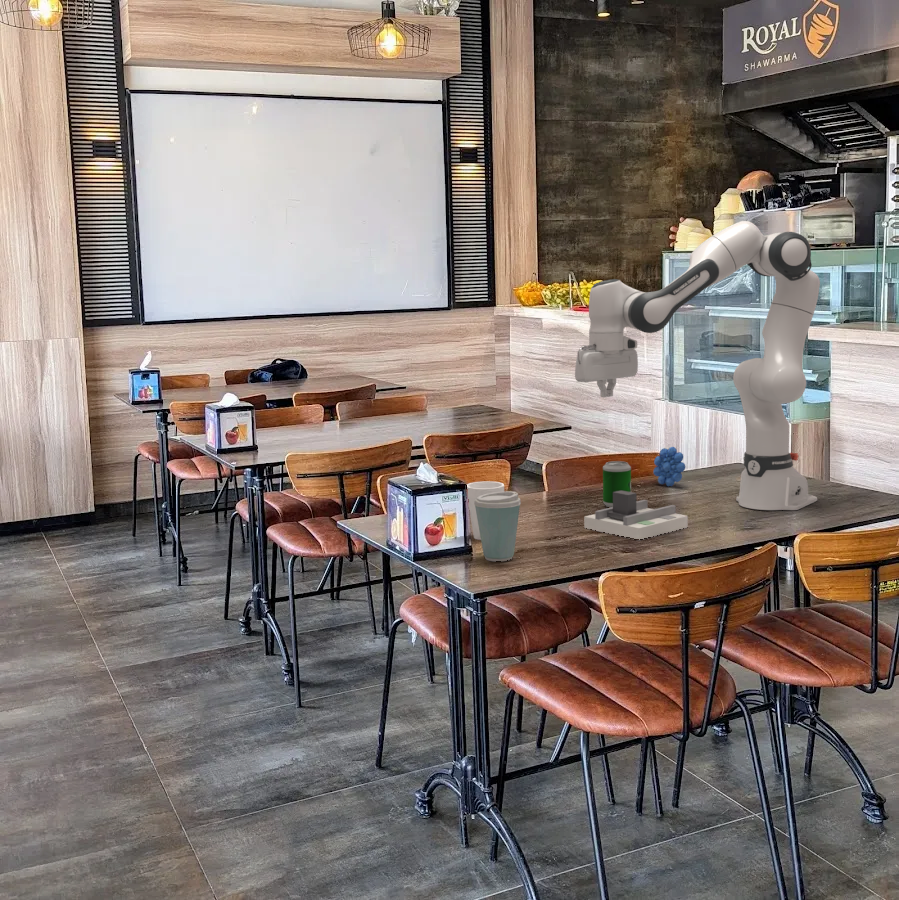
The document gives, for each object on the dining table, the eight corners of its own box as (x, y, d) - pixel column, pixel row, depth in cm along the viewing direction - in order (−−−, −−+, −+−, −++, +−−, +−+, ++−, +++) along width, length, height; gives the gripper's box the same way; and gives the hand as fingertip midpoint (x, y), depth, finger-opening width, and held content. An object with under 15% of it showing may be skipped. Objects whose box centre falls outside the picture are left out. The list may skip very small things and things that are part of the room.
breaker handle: (621, 513, 278) (620, 489, 277) (642, 517, 273) (642, 493, 272) (607, 516, 275) (607, 492, 274) (628, 521, 269) (628, 496, 268)
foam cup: (467, 532, 277) (466, 481, 275) (504, 531, 277) (503, 480, 275) (467, 542, 268) (465, 489, 266) (505, 541, 268) (504, 488, 265)
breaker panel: (632, 516, 289) (632, 497, 288) (687, 527, 275) (687, 507, 275) (584, 528, 278) (584, 508, 277) (639, 540, 264) (639, 520, 263)
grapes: (694, 487, 323) (694, 446, 321) (679, 490, 319) (679, 449, 317) (663, 481, 333) (664, 442, 331) (648, 485, 328) (648, 445, 326)
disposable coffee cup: (476, 565, 247) (474, 499, 245) (474, 552, 258) (473, 489, 255) (523, 563, 247) (522, 497, 245) (520, 551, 258) (519, 488, 255)
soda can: (630, 509, 297) (630, 465, 295) (602, 509, 299) (601, 465, 297) (631, 503, 304) (631, 460, 302) (604, 503, 306) (603, 460, 304)
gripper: (586, 346, 277) (587, 401, 279) (641, 341, 290) (641, 393, 292) (569, 345, 282) (569, 399, 284) (623, 340, 295) (624, 392, 297)
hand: (606, 396), depth 288 cm, fingers closed
